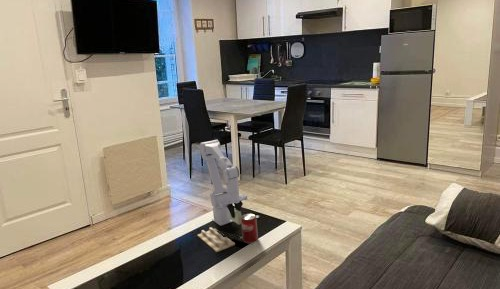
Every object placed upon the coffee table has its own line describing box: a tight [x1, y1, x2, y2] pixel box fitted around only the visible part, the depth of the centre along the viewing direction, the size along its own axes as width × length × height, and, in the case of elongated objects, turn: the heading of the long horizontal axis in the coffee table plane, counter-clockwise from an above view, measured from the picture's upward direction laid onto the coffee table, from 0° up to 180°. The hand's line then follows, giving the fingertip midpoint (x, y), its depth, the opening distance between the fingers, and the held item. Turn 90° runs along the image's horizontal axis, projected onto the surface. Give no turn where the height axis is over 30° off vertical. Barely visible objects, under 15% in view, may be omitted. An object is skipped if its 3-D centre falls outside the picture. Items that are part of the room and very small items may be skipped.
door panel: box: [229, 209, 243, 225], centre depth 181 cm, size 9×2×6 cm, turn 33°
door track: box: [197, 226, 236, 253], centre depth 177 cm, size 20×10×2 cm, turn 33°
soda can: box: [240, 213, 259, 244], centre depth 174 cm, size 7×7×12 cm
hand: (235, 216), depth 181 cm, fingers closed on door panel, 2 cm apart
